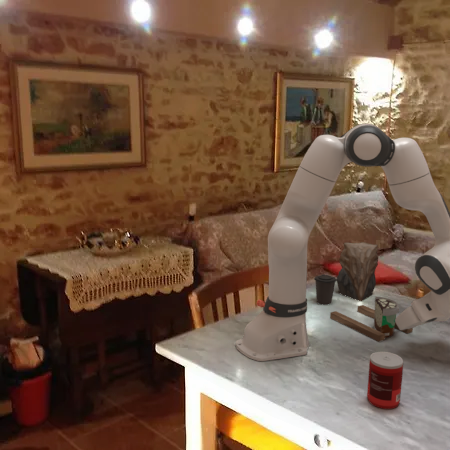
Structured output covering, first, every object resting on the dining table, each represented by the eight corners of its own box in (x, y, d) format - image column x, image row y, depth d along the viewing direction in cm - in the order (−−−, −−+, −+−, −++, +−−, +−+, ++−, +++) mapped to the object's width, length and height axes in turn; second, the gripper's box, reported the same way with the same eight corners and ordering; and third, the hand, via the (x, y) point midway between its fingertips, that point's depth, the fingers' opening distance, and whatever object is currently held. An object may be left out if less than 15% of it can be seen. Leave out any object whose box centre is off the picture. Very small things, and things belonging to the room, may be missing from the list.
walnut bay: (378, 341, 159) (379, 335, 158) (330, 317, 177) (330, 312, 177) (412, 332, 166) (412, 326, 166) (362, 310, 185) (362, 304, 184)
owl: (334, 292, 203) (336, 242, 199) (355, 286, 211) (358, 238, 207) (360, 301, 194) (363, 249, 189) (381, 295, 201) (385, 244, 197)
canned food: (393, 392, 130) (396, 351, 127) (405, 409, 122) (408, 366, 120) (362, 392, 129) (365, 351, 127) (372, 410, 121) (375, 366, 119)
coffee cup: (322, 297, 198) (324, 271, 196) (339, 302, 192) (341, 276, 190) (308, 301, 193) (309, 275, 191) (325, 307, 187) (326, 281, 185)
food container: (401, 341, 160) (404, 310, 158) (381, 340, 160) (383, 309, 158) (391, 325, 172) (394, 296, 170) (373, 324, 172) (375, 295, 170)
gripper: (457, 289, 154) (426, 310, 164) (409, 301, 144) (380, 323, 154) (469, 308, 151) (437, 328, 162) (421, 322, 141) (391, 342, 151)
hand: (409, 326), depth 158 cm, fingers closed
